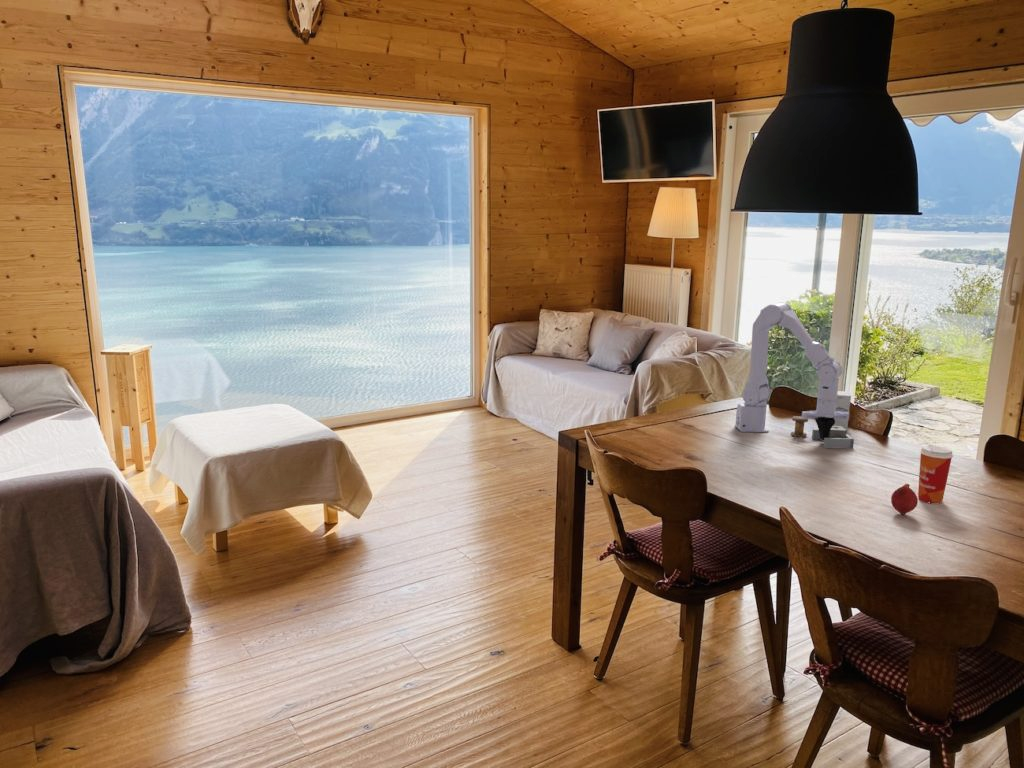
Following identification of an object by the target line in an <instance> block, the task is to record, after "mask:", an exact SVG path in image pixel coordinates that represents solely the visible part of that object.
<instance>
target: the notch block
mask: <svg viewBox="0 0 1024 768" xmlns="http://www.w3.org/2000/svg"><path fill="white" fill-rule="evenodd" d="M811 433H812V435H811V439H812V440H813V439H814V440H819V439H820V433H819V429H818V428H812V432H811ZM820 440H821V439H820ZM854 442H855V438H853V437H851V436H850V435H849V434H847V433H846V438H824V441H823V449H853V448H854V444H855V443H854Z"/></svg>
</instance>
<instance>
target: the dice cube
mask: <svg viewBox="0 0 1024 768" xmlns="http://www.w3.org/2000/svg"><path fill="white" fill-rule="evenodd" d="M847 431H848V429H847V430H846V429H844V428H843V427H842V426H832V428H831V429H830V431H829V433H828V435H827V438H846V434H847Z"/></svg>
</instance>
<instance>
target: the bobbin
mask: <svg viewBox="0 0 1024 768" xmlns="http://www.w3.org/2000/svg"><path fill="white" fill-rule="evenodd" d="M791 418H792V421H794V430H793V431H791V432H790V436H791V435H792V436H791V437H793V436H795V437H794V438H799V437H804V438H806V436H808V434H807V433H806V432H804V429H805V423H808V422H809V418H807V419H804V418H802V415H801V416H800V415H799V416H798V415H796V416H795V415H793V416H792V417H791Z"/></svg>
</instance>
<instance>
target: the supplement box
mask: <svg viewBox="0 0 1024 768" xmlns="http://www.w3.org/2000/svg"><path fill="white" fill-rule="evenodd" d="M851 399H852V396H851V394H850V392H849V391H844V390H843V391H842V390H838V393H837V402H836V411H839V412H848V413H849V414H850V410H851V409H850V408H851ZM834 420H835V424H834V425H833V426H842V427H843V428H844V429H846V430H847V431H848V426H849V425H848V424H849V419H839V418H834Z"/></svg>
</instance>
